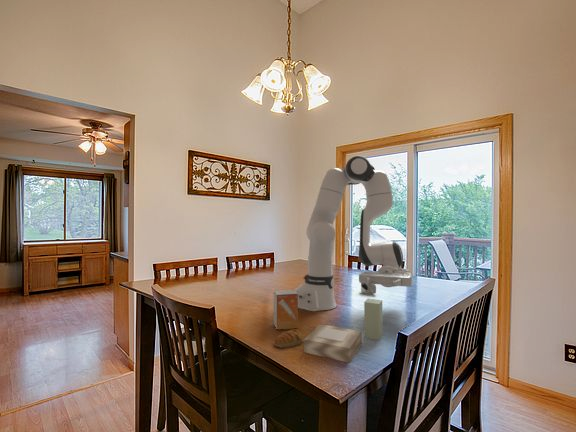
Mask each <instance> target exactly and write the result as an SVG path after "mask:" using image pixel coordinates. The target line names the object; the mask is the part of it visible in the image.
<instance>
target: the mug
mask: <svg viewBox="0 0 576 432" xmlns="http://www.w3.org/2000/svg"><path fill="white" fill-rule="evenodd" d="M376 292H377V284H366V283H360V293H361V294H364V295H374V294H377V293H376Z"/></svg>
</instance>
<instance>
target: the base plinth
mask: <svg viewBox="0 0 576 432" xmlns="http://www.w3.org/2000/svg"><path fill="white" fill-rule="evenodd" d="M362 333H363V331H362V330H358V329H357V330H356V329H350V328H346V327H345V328H344V327H338V326H334V325H329V324H328V325H327V324H319V325H318V326H317V327H316V328H315V329H313V331H311V332H310V333H309V334H308V335H307V336H306V337H304V339H303V353H306V354H310V355H314V356H319V357H323V358H328V359H331V360H336V361H340V362H345V363H350V362H351V361H352V360H353V358H354V357H355V355H356V353H357V352H358V350H359V349H360V347H361V346H362V344H363V334H362Z"/></svg>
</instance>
